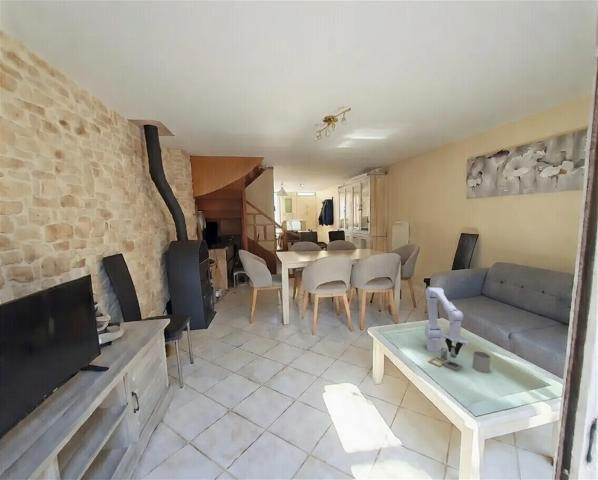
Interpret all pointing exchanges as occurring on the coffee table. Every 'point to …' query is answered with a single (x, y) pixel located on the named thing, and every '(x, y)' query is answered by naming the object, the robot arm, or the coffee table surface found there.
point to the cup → (481, 362)
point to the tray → (437, 361)
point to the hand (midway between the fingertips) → (453, 352)
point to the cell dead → (444, 353)
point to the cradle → (452, 366)
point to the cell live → (453, 351)
